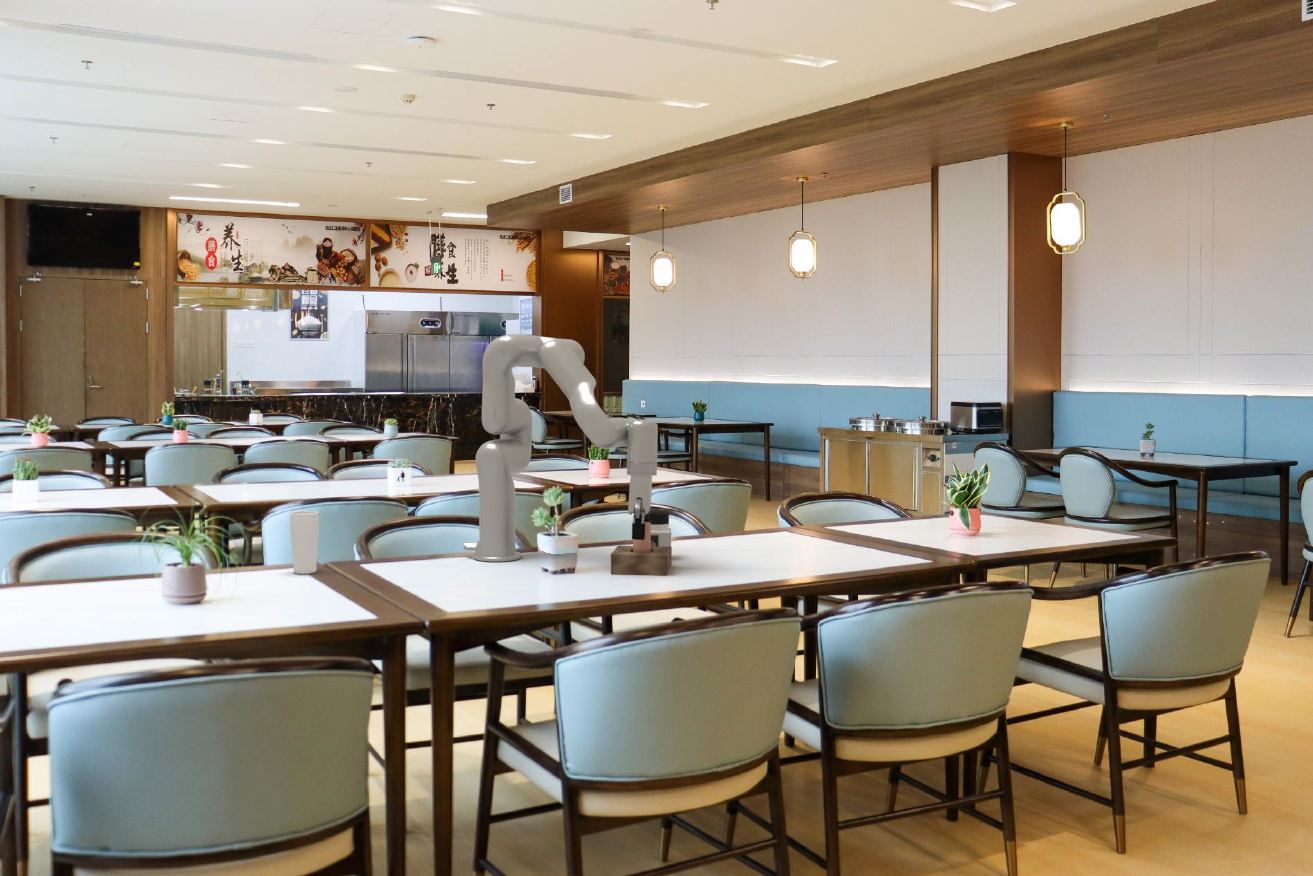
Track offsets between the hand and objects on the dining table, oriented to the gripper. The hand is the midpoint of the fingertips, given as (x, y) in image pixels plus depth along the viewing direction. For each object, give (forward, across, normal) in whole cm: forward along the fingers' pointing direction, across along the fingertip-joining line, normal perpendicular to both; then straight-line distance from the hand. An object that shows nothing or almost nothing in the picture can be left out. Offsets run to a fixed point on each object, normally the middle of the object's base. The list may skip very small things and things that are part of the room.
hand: (640, 536), depth 292 cm
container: (+9, -19, +3) cm, 21 cm away
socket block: (+8, 0, +1) cm, 9 cm away
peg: (+8, 0, +1) cm, 9 cm away
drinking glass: (+10, +14, -81) cm, 83 cm away
